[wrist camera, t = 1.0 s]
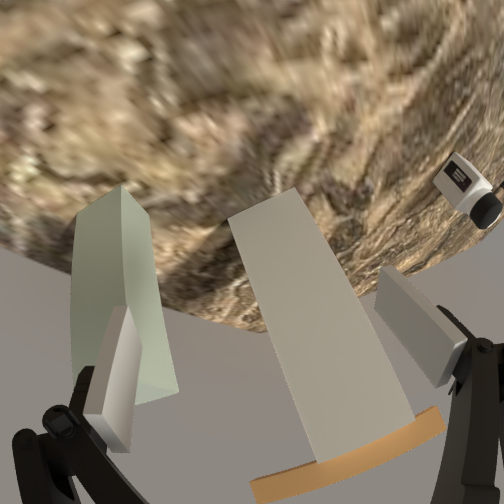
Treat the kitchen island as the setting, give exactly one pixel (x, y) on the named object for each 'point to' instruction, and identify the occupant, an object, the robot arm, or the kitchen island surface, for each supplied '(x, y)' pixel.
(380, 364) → the post
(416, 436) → the bar
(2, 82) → the kitchen island surface
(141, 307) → the pale green tall block
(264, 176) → the kitchen island surface
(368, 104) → the kitchen island surface
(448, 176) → the container
